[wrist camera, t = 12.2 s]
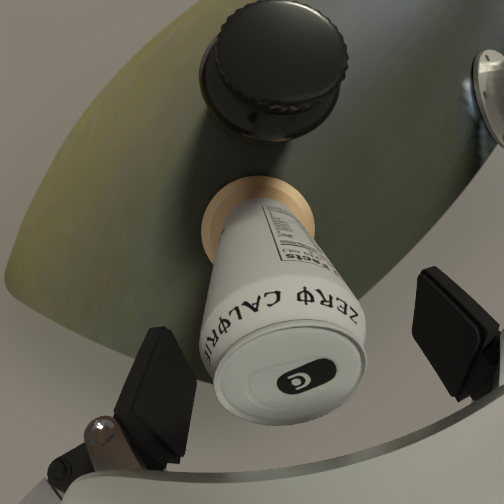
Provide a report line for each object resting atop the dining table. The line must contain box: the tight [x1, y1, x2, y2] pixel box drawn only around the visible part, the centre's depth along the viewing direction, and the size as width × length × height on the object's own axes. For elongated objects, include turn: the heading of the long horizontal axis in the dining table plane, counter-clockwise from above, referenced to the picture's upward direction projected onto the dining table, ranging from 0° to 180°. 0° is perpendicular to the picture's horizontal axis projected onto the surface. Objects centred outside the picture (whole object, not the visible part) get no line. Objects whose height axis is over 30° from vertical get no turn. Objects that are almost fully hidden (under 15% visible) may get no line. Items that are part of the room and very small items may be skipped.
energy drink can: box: [199, 198, 367, 426], centre depth 15 cm, size 6×6×15 cm
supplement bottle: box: [199, 0, 349, 145], centre depth 13 cm, size 7×7×12 cm
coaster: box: [201, 175, 315, 265], centre depth 22 cm, size 9×9×1 cm
